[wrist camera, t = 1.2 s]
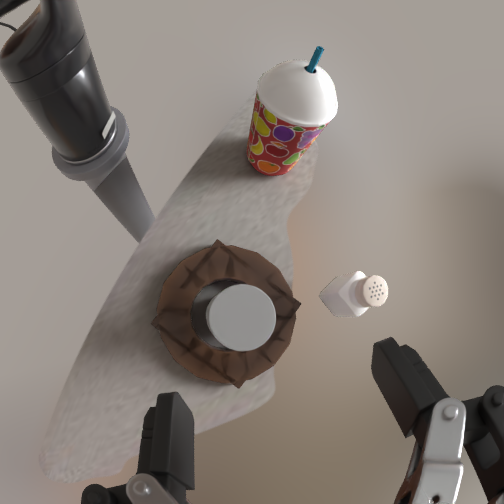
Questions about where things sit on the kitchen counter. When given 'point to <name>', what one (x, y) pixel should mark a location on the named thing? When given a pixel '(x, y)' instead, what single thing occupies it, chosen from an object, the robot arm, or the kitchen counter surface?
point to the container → (241, 317)
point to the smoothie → (289, 113)
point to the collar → (182, 298)
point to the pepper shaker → (354, 294)
